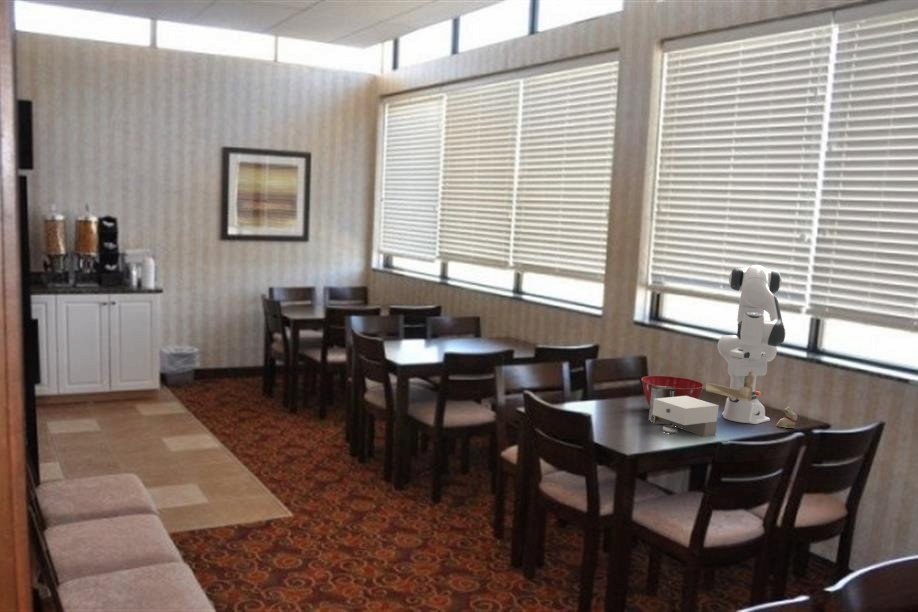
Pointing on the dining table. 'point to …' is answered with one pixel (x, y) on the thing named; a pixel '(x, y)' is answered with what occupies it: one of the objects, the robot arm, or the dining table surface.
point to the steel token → (670, 429)
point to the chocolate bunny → (788, 419)
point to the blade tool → (740, 394)
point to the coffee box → (660, 393)
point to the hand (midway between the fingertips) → (745, 386)
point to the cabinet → (688, 414)
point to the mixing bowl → (680, 384)
